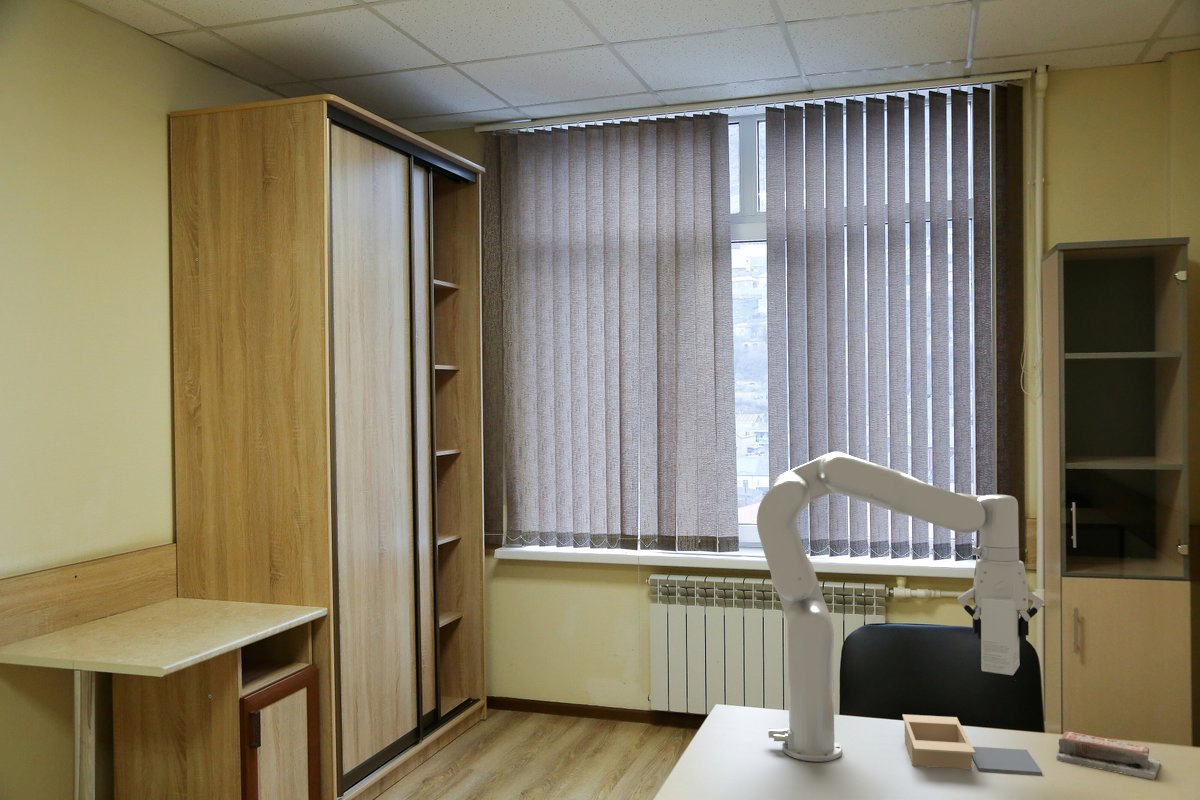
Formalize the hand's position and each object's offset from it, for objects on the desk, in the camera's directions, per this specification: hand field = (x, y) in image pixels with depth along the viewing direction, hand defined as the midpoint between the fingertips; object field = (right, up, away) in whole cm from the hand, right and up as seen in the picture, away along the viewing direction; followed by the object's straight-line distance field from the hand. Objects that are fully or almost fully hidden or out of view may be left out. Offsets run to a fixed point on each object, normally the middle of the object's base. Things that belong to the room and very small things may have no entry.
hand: (1000, 637), depth 190 cm
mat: (0, -26, 0) cm, 26 cm away
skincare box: (0, -7, 0) cm, 7 cm away
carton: (-12, -26, +3) cm, 29 cm away
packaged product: (+22, -26, -1) cm, 34 cm away
